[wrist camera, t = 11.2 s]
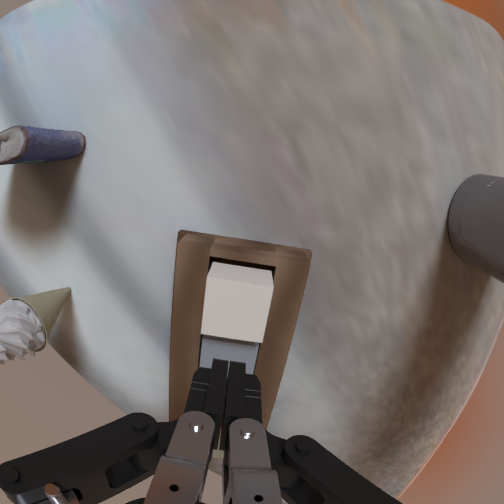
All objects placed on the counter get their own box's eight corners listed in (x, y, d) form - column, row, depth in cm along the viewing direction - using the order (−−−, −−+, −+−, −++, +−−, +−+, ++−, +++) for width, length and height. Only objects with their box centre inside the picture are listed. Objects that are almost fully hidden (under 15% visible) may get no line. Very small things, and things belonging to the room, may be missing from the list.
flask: (88, 130, 23) (9, 122, 13) (85, 162, 24) (5, 169, 14) (19, 135, 23) (-57, 136, 13) (17, 163, 24) (-59, 173, 13)
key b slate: (258, 327, 25) (258, 346, 22) (250, 366, 26) (250, 388, 23) (207, 319, 25) (202, 338, 22) (203, 359, 26) (198, 380, 23)
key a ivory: (271, 270, 22) (273, 286, 19) (261, 321, 23) (262, 343, 20) (212, 261, 22) (207, 276, 19) (206, 313, 23) (200, 333, 20)
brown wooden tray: (310, 249, 26) (319, 265, 22) (263, 431, 32) (263, 456, 28) (180, 229, 26) (168, 241, 22) (171, 418, 32) (163, 442, 28)
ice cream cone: (93, 278, 27) (-5, 363, 13) (85, 319, 28) (4, 410, 14) (53, 257, 26) (-51, 323, 12) (48, 298, 28) (-41, 374, 13)
